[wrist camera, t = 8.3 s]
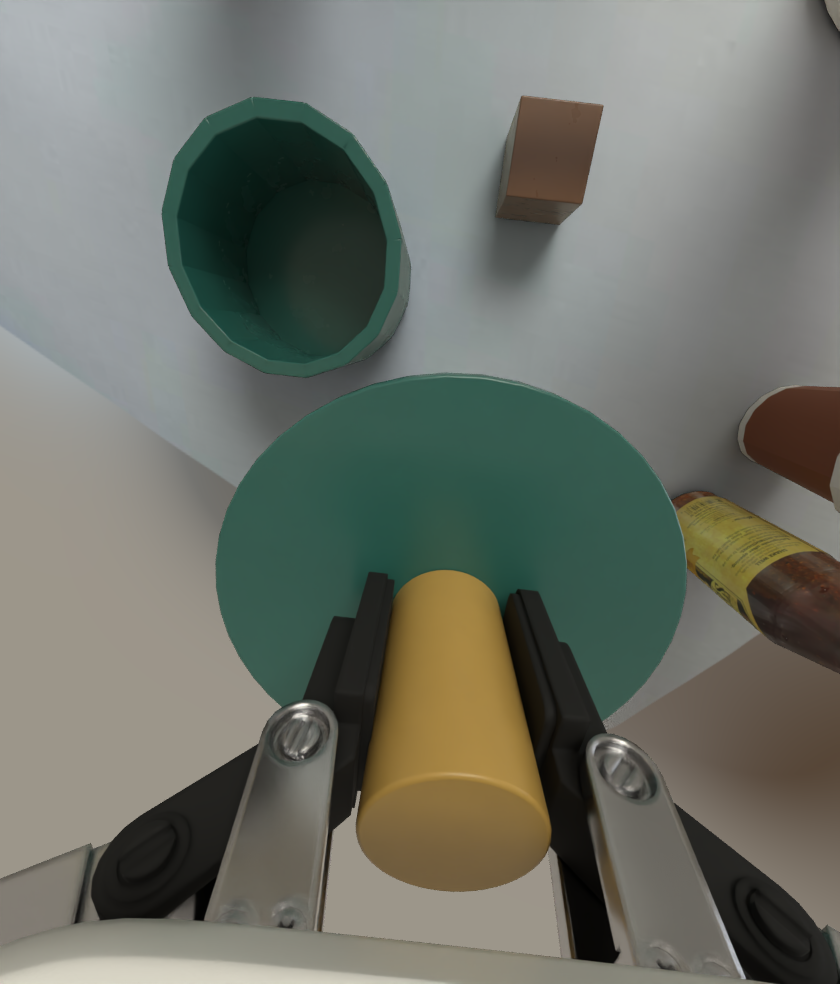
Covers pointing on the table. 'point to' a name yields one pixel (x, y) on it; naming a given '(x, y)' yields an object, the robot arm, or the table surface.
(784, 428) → the coffee cup
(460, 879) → the tin lid
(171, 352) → the table surface
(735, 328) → the table surface
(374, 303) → the tin
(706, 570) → the sauce bottle
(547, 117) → the block
